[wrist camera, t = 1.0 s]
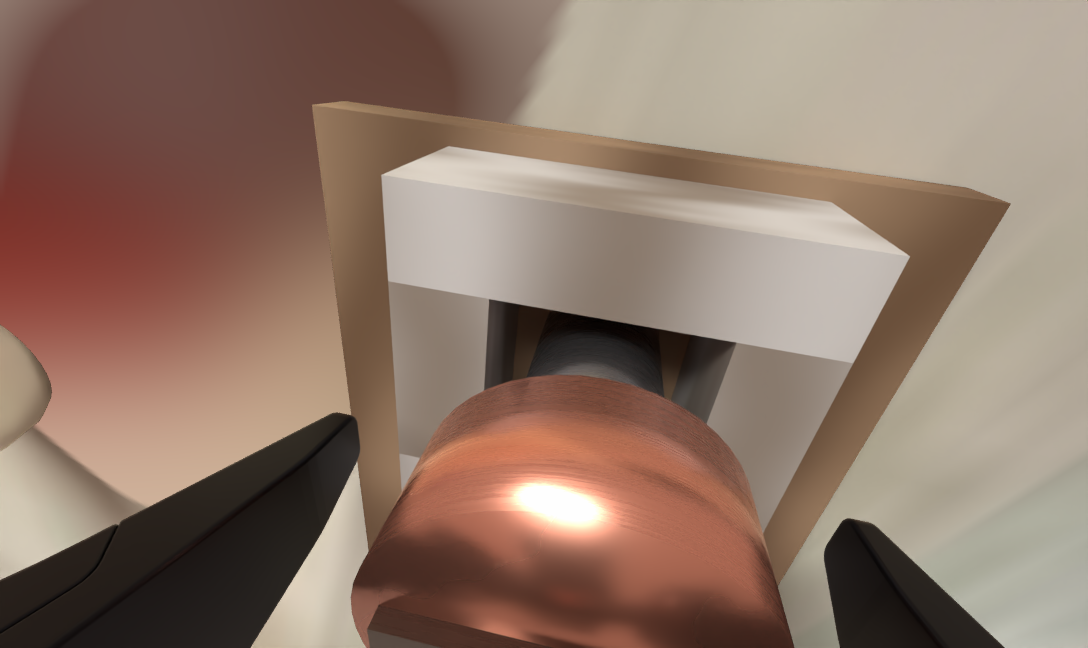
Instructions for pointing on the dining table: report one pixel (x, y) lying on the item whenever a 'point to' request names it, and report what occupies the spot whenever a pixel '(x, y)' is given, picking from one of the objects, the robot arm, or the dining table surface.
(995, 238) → the dining table surface
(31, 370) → the plastic bottle
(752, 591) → the copper knob
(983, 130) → the dining table surface
